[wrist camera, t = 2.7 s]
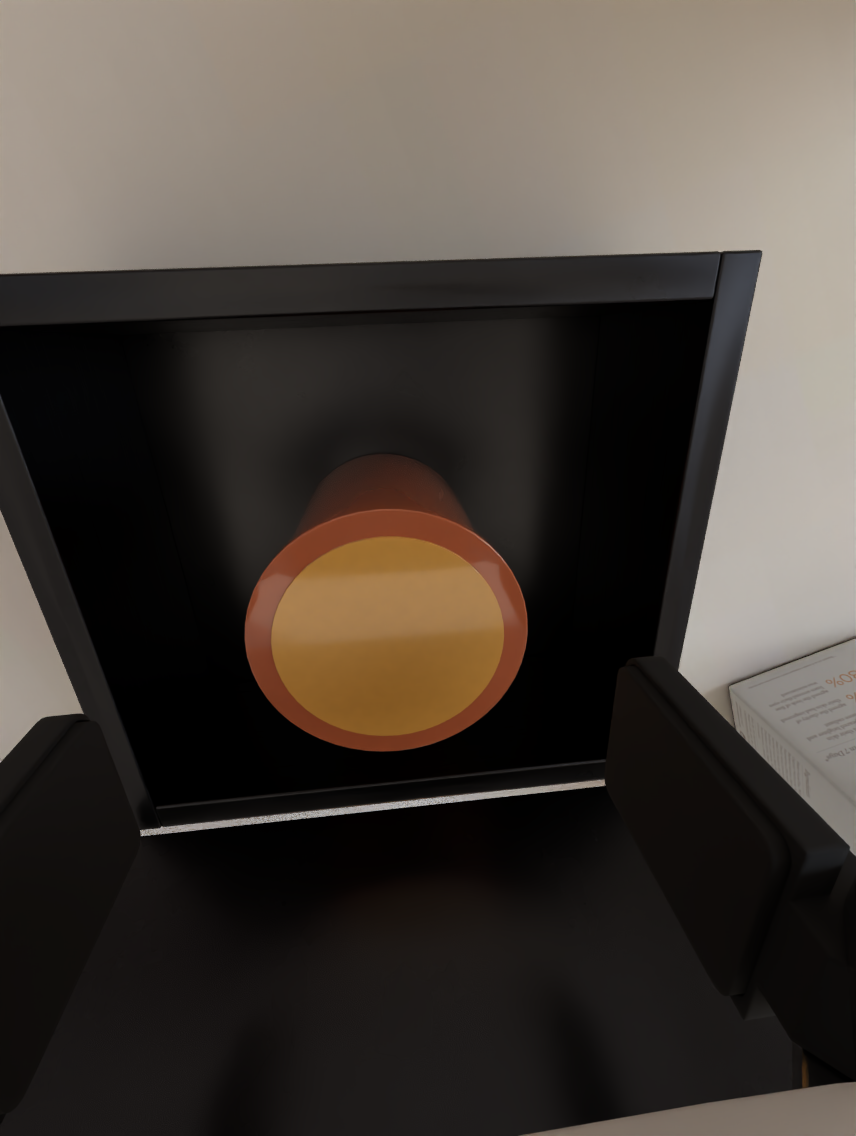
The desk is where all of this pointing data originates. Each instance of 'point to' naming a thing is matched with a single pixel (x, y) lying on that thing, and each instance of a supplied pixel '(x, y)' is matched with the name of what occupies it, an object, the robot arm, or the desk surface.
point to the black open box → (329, 439)
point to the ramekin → (385, 612)
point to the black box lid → (395, 984)
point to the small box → (808, 730)
